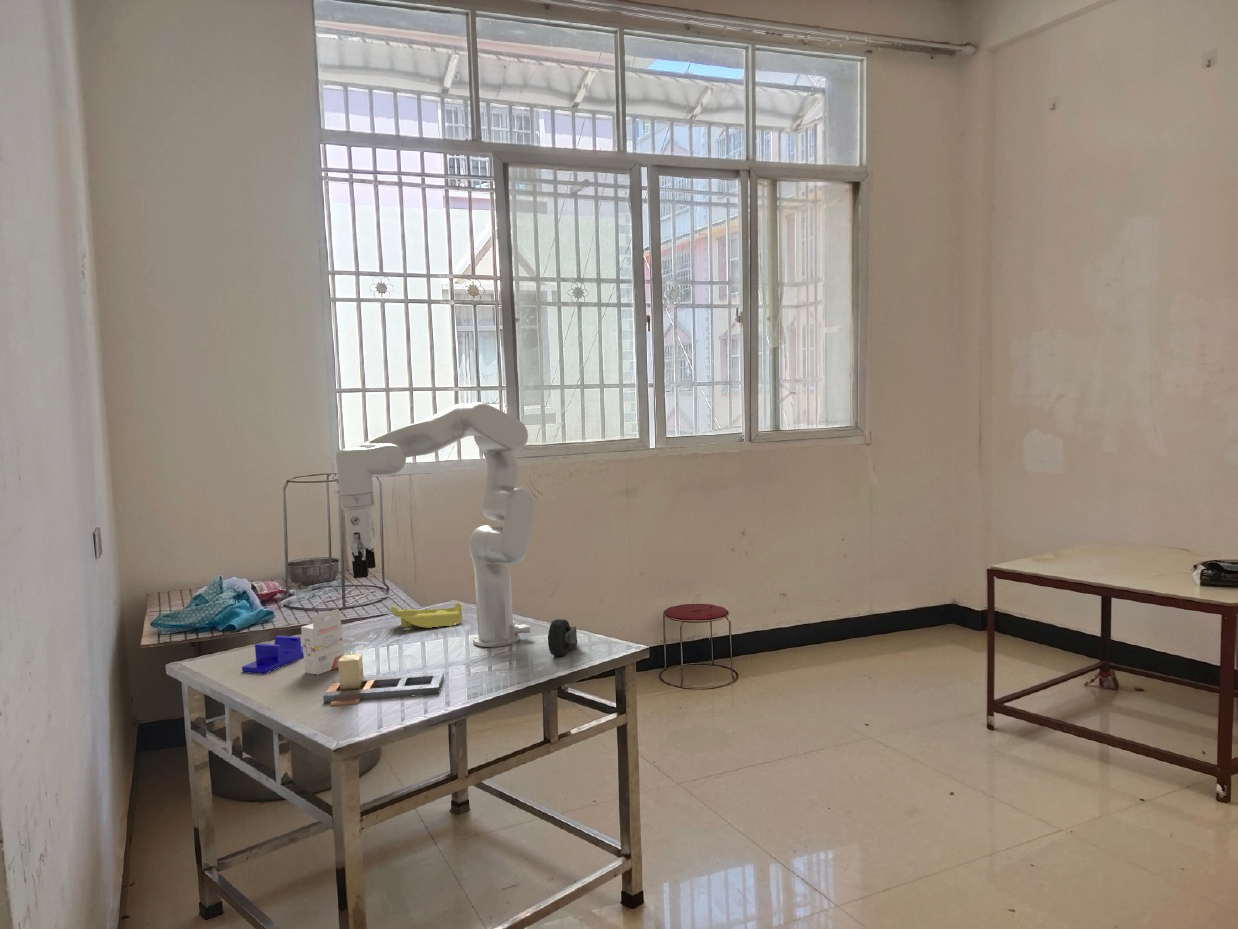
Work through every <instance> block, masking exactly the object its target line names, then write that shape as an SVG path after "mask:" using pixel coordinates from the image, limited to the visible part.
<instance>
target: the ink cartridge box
mask: <svg viewBox="0 0 1238 929" xmlns="http://www.w3.org/2000/svg"><path fill="white" fill-rule="evenodd" d="M340 615H341V614H340V610H339V609H338V608H336V609H333V610H329V611H325V612H322V613H319V614H316V615H315V614H314V615H312V616H311V621H312V623H310V624H306V625H303V626H301V627H300V629H301V630H300V631H301V640H302V641H301V643H302V646H303V654H304V657H303V663H304V672H305V673H306V674H311V675H315V674H316V676H319V675H322V674H324V673H327V672H330V671H332V670H335V669H337V668H338V669H339V667H338V661H339V659H340V658H341V656H342V655H345V653H344V642H343V641H344V640H343V631H342V630H343V629H342V620H341V616H340ZM325 617H329V618H325ZM324 618H325V619H324ZM322 619H323V620H322Z"/></svg>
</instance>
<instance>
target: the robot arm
mask: <svg viewBox="0 0 1238 929" xmlns="http://www.w3.org/2000/svg"><path fill="white" fill-rule="evenodd" d="M470 436H471V437H472V436H473V440H474V442H475V445H477V446H478V448H479V450H481V452H482V455H483V456H484V459H485V461H486V467H487V468H486V478H485V483H484V488H483V493H482V500H481V507H480V508H481V513H482V515H483V516H484V517H485V518H486V519H488V520H491V521H496V522H503V526H502V525H493V524H491V525H490V524H485V525H481V526H477V528H475V530H473V532H472V533H471V534H470V538H469V542H468V543H469V545H468V548H469V552H470V557H471V560H472V566H473V570H474V571H473V572H474V573H473V574H474V585H475V601H476V603H475V604H476V617H477V619H476V620H477V633H478V634H476V635H475V636H473V637H472V643H473V645H475V646H478V647H484V648H495V647H497V648H498V647H504V646H509V645H513V644H515V643H517V642H518V641H519V640H520V634H530V633H531V628H530V626H531V625H526V624H521V625H519V624H515V620H514V618H513V616H514V615H513V597H512V580H511V579H512V578H511V572H510V569H509V566H508V565H509V564H510V565H512V564H513V565H514V564H518V563H520V562H522V561H523V560H524V559H525V557H526V556H527V554H528V552H529V549H530V546H531V539H532V534H533V529H534V523H535V522H534V521H535V516H536V501H535V498H534V496H533V494H532V492H531V491H530V490H529V489H527V488H525V487H521V486H518V479H519V463H518V460H517V457H516V456H515V454H514V452H518V451H520V450H522V449H523V448H524V447H525V445H526V444H527V443H528V439H529V433H528V429H527V427H526V425H525V424H524V423H523V422H522V421H521V420H519V419H518V418H517V417H514V416H512V415H510V414H509V413H506V412H504V411H502V410H500V409H499V408H497V407H494V406H492V405H490V404H487V403H482V402H472V403H471V402H469V403H468V402H467V403H457V404H455V405H453V406H450V407H447V408H446V409H444V410H442V411H440V412H438V413H435V414H434V415H432V416H429V417H427V418H425V419H423V420H420V421H418V422H415V423H411V424H409V425H406V426H404V427H401V428H398V429H395V430H392V431H389V432H386V433H383V434H380V435H379V436H377V437H375V438H372V439H370V440H368V441H366V442H365V443H362V444H361V445H360V446H358V447H349V448H347V447H346V448H342V449H339V450H338V451H337V452H336V455H335V459H336V460H335V461H336V470H337V480H338V488H339V498H340V500H339V501H340V506H341V509H342V510H344V511H345V515H346V516H345V517H346V518H345V520H346V529H347V530H346V531H347V541H348V546H349V547H348V548H349V551H351V565H352V574H353V578H354V579H363V578H368V577H369V569H375V568H376V566H377V565H376V556H375V550H374V547H376V544H377V543H378V536H377V529H376V522H375V515H374V511H373V507H375V505H376V503H375V491H374V482H373V481H374V480H373V477H375V476H393V475H396V474H397V473H399V472H401V471H402V470H403V469H404V467H405V465H406V463H407V458H411V457H420V456H426V455H428V454H429V455H430V454H433V453H436V452H439V451H441V450H442V449H444V448H446V447H448V446H450V445H452V444H454V443H456V442H458V441H460V440H462V439H465V438H467V437H470Z"/></svg>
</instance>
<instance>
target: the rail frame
mask: <svg viewBox="0 0 1238 929" xmlns="http://www.w3.org/2000/svg"><path fill="white" fill-rule="evenodd" d="M444 680H445V673H444V671H437V672H436V671H435V672H434V671H433V672H432V671H431V672H421V673H409V674H395V675H380V676H367V677H364V688H363V689H362V690H349V691H340V681H339V679H334V681H333V682H332V683H331V685H330V686H329V687H328V689H327V690H326V692H325V693H324V695H323V696H322V698H323V704H330V706H331V705H333V706H345V705H356V704H357V705H358V704H360V703H361V701H369V699H371V700H382V698H384V699H393V698H408V697H407V696H410V697H413V696H412V695H423V696H433V695H439V694H440V692H439V691H441V689H440V688H442V685H443V682H444ZM418 683H419V684H418ZM417 684H418V685H417ZM377 687H378V688H377ZM325 702H326V703H325ZM327 702H328V703H327ZM329 702H331V703H329ZM359 702H360V703H359Z"/></svg>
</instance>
